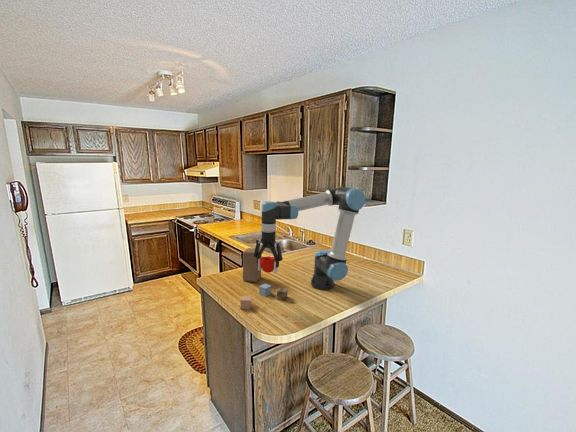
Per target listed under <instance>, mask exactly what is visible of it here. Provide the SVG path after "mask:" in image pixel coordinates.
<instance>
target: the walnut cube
mask: <svg viewBox="0 0 576 432" xmlns="http://www.w3.org/2000/svg"><path fill="white" fill-rule="evenodd" d="M287 298H288V288H287V287H278V289H277V290H276V300H280V301H286V299H287Z"/></svg>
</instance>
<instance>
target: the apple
mask: <svg viewBox="0 0 576 432" xmlns="http://www.w3.org/2000/svg"><path fill="white" fill-rule="evenodd" d="M274 262H275V258H274V256H267V255H266V256H261V259H260V261H259V263H260V266H261V268H262V269H261V271H263V272H265V273H272V272H274Z"/></svg>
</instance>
